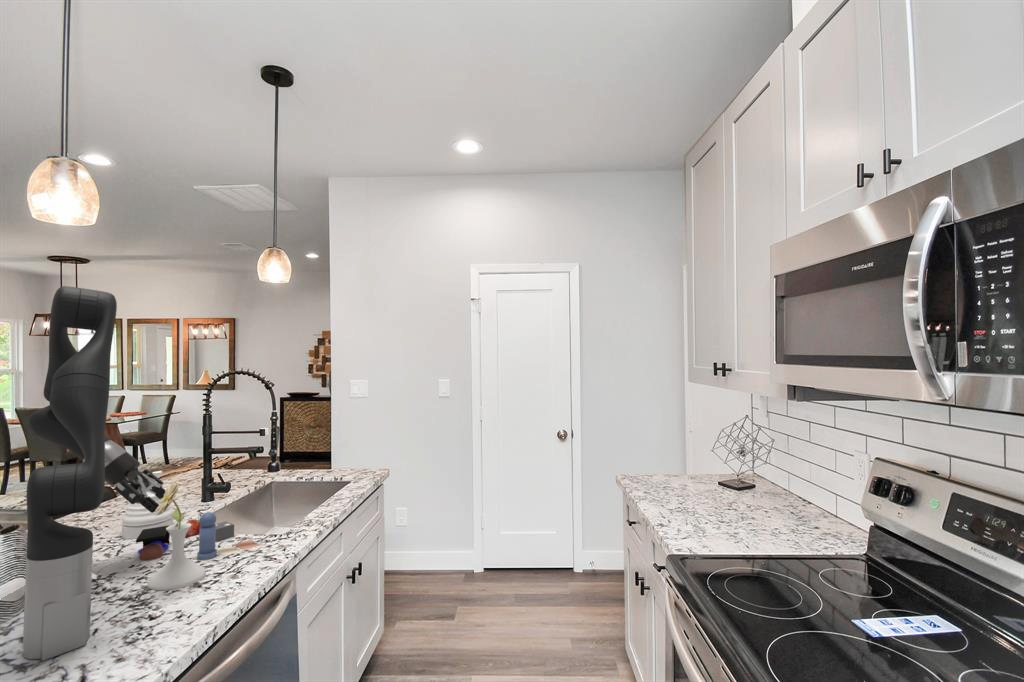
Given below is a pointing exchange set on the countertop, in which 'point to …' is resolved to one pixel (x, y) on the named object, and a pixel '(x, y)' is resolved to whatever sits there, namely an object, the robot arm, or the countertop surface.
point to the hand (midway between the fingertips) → (163, 504)
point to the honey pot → (144, 517)
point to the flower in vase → (175, 551)
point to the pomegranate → (193, 528)
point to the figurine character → (153, 542)
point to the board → (232, 549)
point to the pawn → (207, 537)
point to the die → (224, 531)
